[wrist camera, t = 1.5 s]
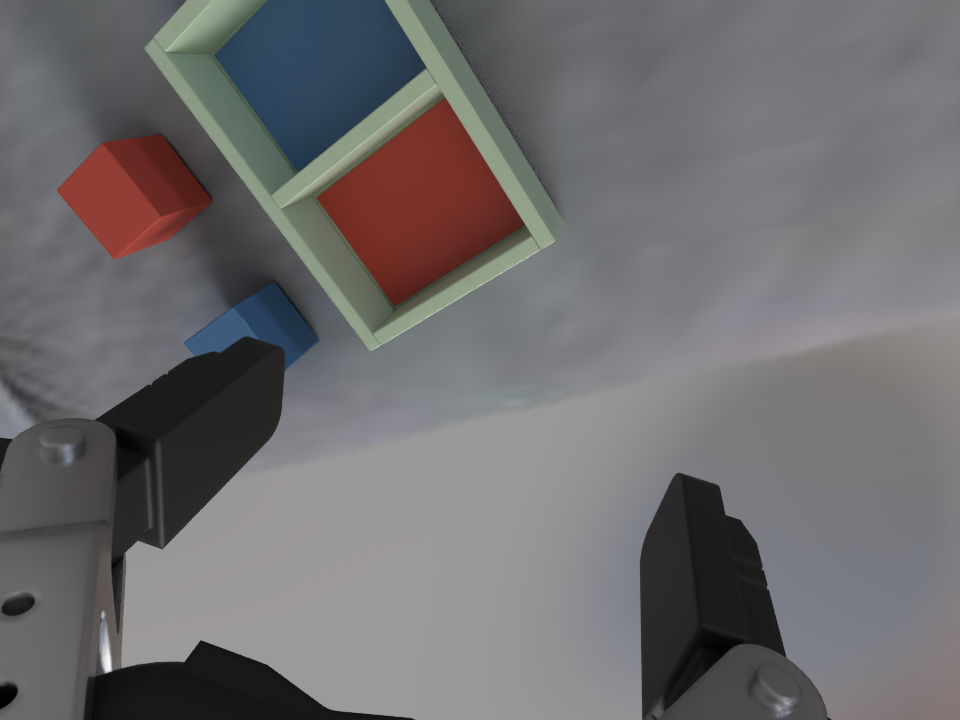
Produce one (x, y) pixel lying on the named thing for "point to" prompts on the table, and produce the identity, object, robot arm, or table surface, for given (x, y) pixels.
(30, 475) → the robot arm
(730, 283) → the table surface
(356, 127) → the sorting tray
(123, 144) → the red block
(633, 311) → the table surface
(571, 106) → the table surface
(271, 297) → the blue block
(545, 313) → the table surface
